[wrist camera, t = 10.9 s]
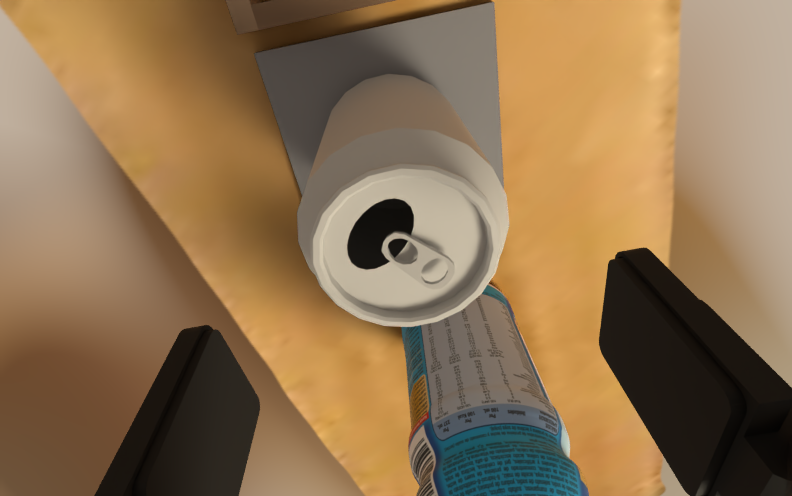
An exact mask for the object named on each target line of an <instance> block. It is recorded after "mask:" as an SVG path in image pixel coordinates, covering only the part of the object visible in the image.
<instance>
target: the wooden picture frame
mask: <svg viewBox="0 0 792 496" xmlns="http://www.w3.org/2000/svg"><path fill="white" fill-rule="evenodd" d="M225 1H226V3H227V6H228V9H229V12H230V15H231V18H232V21H233V23H234V26H235V29H236V32H237V35H239V34H243V33H248V32H253V31H257V30H262V29H266V28H271V27H275V26H280V25H285V24H289V23H294V22H298V21H303V20H308V19H312V18H317V17H321V16H326V15H330V14H335V13H340V12H344V11H349V10H353V9H358V8H363V7H367V6H372V5H376V4H381V3H386V2H390V1H395V0H271V1H266V2H262V3H261V2H260V0H225Z"/></svg>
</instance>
